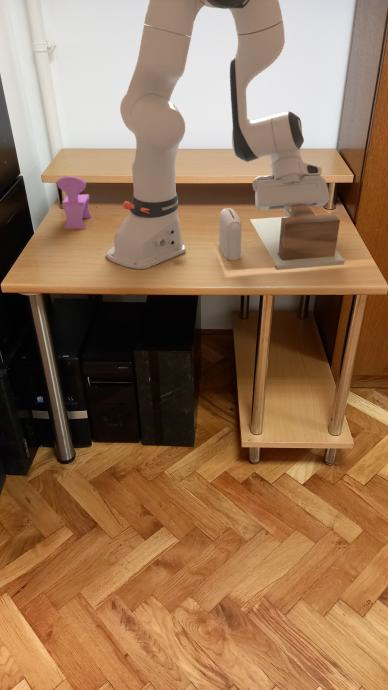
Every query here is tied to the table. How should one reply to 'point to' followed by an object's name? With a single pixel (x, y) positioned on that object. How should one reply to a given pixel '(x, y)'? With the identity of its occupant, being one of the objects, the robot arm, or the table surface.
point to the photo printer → (230, 234)
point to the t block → (307, 234)
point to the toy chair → (74, 201)
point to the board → (271, 238)
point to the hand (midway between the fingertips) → (295, 222)
